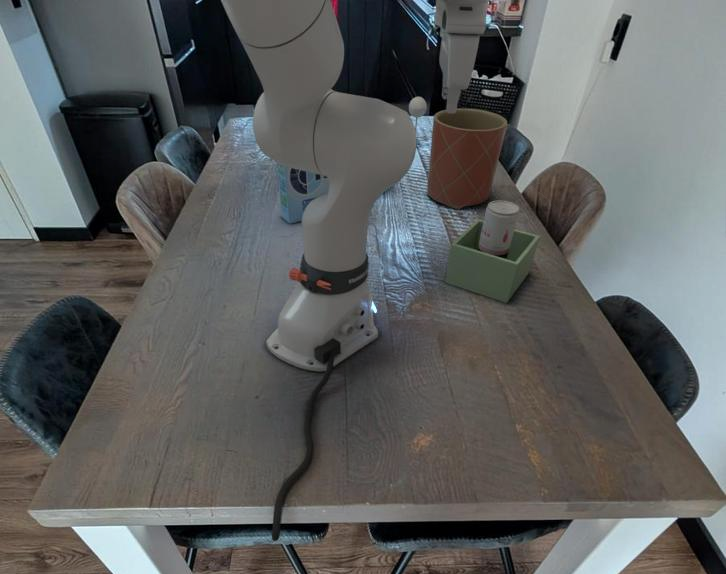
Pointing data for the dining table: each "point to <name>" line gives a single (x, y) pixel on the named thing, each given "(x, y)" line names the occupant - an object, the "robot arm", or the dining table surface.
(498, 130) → the planter
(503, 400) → the dining table surface
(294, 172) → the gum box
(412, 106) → the lollipop
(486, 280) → the basket
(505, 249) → the beverage can
